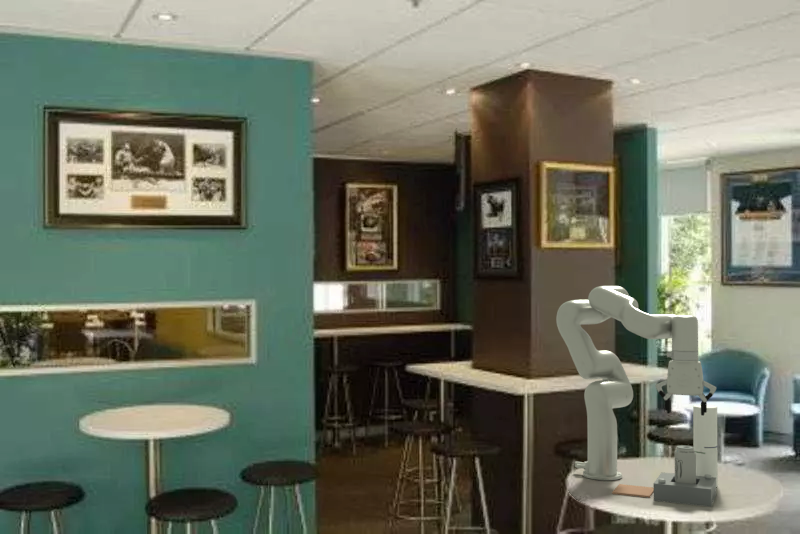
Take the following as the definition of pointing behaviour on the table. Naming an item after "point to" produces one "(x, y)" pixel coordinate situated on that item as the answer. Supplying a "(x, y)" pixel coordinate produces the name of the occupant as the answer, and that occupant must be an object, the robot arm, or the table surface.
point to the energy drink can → (685, 464)
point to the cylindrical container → (705, 441)
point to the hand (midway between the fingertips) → (685, 413)
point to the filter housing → (685, 490)
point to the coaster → (633, 490)
